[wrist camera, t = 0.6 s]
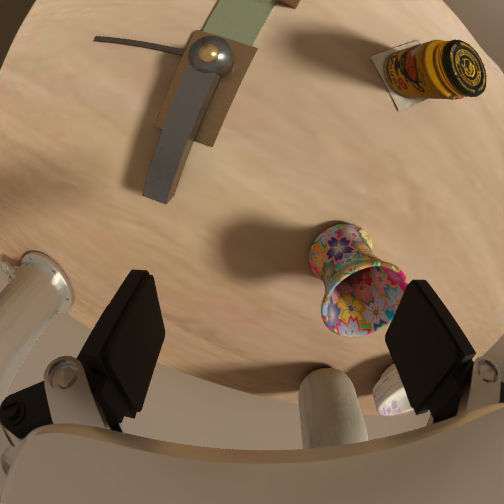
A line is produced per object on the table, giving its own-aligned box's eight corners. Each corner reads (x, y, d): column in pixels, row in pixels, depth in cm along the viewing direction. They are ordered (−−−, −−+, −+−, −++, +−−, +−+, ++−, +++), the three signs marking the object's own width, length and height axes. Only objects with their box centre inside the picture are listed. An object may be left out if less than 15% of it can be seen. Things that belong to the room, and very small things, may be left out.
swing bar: (204, 39, 21) (197, 29, 18) (239, 50, 22) (238, 41, 18) (147, 185, 29) (135, 195, 25) (179, 197, 29) (169, 208, 26)
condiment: (369, 57, 22) (427, 36, 11) (418, 40, 20) (480, 25, 9) (398, 112, 25) (464, 120, 14) (443, 91, 22) (510, 96, 12)
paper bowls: (357, 392, 51) (365, 421, 44) (388, 347, 43) (402, 380, 36) (409, 386, 51) (419, 411, 44) (442, 343, 44) (457, 370, 37)
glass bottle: (288, 385, 48) (298, 520, 23) (311, 354, 43) (335, 513, 19) (331, 389, 49) (353, 512, 25) (357, 360, 44) (394, 498, 20)
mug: (289, 258, 34) (301, 315, 25) (338, 202, 30) (373, 244, 21) (350, 300, 37) (373, 354, 28) (395, 255, 34) (432, 302, 24)
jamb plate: (72, 104, 24) (70, 104, 23) (106, 17, 18) (104, 17, 18) (213, 146, 27) (212, 146, 27) (257, 49, 22) (257, 48, 22)
